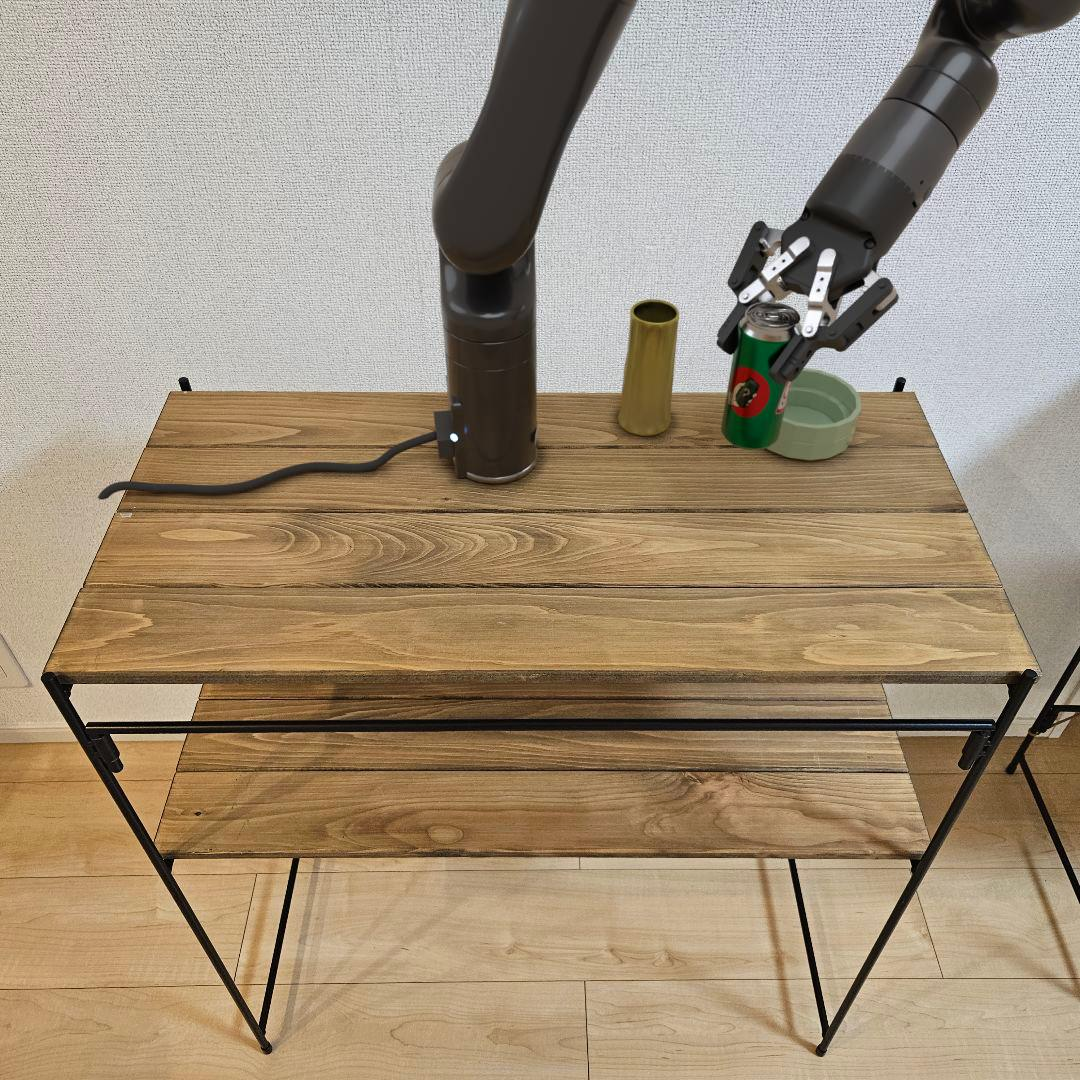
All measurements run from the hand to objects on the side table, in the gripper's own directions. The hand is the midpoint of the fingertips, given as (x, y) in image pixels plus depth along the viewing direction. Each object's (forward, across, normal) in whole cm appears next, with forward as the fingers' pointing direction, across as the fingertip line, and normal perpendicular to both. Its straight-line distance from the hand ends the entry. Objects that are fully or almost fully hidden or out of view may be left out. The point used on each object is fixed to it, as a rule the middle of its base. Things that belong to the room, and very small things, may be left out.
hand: (749, 364), depth 72 cm
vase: (+9, -21, +23) cm, 32 cm away
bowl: (0, -8, +32) cm, 33 cm away
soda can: (+5, 0, +7) cm, 9 cm away
